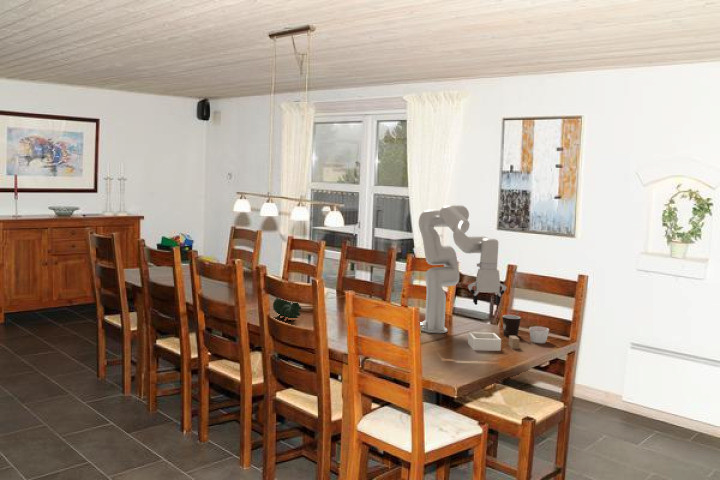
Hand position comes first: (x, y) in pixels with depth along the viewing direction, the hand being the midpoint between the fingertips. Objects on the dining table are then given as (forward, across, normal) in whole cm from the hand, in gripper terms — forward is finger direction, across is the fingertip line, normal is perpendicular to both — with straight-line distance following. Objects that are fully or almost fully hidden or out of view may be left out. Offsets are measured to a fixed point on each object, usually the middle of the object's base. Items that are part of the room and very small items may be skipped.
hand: (486, 304), depth 304 cm
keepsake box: (+20, 0, 0) cm, 20 cm away
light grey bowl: (+21, +30, +16) cm, 40 cm away
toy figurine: (+21, -91, +50) cm, 106 cm away
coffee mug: (+20, +19, +25) cm, 38 cm away
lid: (+21, +14, +1) cm, 25 cm away
